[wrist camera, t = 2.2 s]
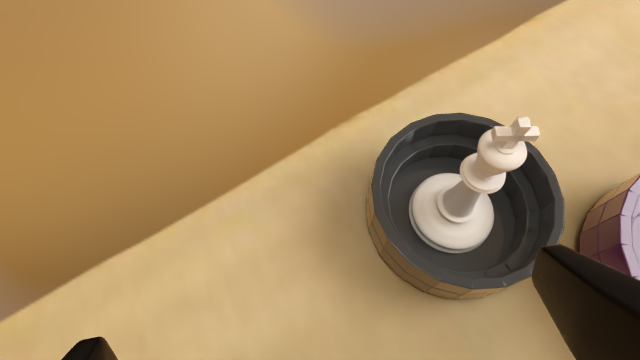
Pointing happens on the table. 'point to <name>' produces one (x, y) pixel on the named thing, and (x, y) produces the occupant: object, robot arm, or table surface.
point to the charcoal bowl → (508, 202)
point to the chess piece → (469, 190)
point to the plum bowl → (615, 229)
